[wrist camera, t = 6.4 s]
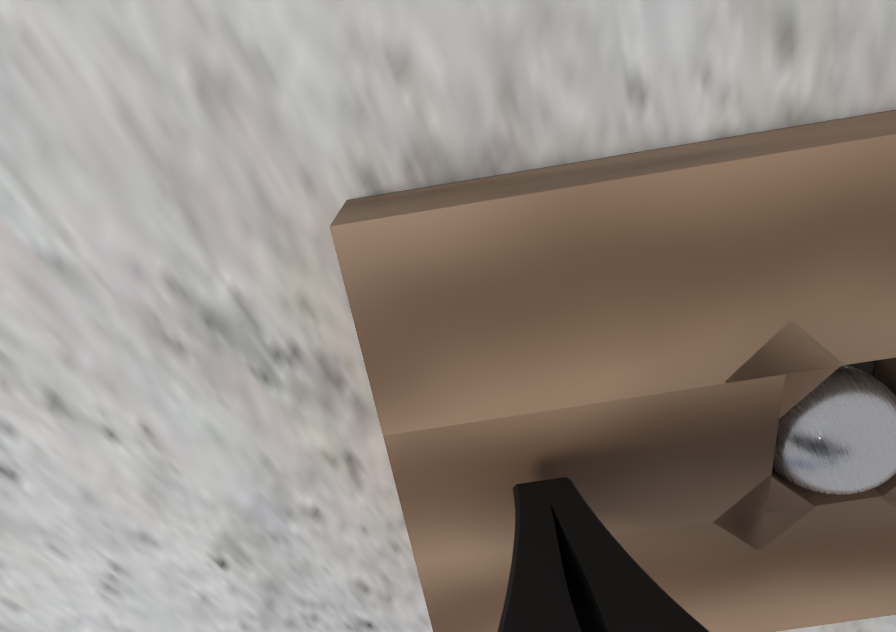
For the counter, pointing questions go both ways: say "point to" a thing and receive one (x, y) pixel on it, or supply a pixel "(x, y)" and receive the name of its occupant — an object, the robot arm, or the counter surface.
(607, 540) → the robot arm
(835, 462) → the steel ball
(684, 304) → the walnut plate
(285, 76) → the counter surface
